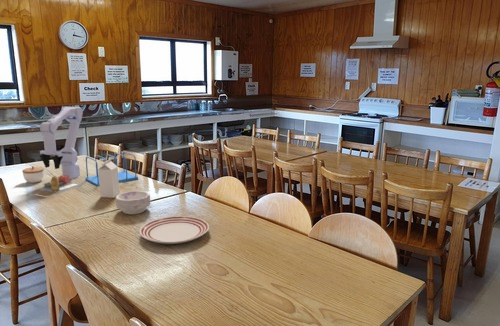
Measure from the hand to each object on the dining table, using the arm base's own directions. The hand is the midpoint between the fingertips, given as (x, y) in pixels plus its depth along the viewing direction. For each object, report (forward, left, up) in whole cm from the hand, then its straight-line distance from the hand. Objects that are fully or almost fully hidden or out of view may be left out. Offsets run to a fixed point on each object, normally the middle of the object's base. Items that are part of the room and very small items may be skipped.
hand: (52, 167), depth 212 cm
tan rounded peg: (+8, +10, -10) cm, 16 cm away
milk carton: (+1, +41, -11) cm, 42 cm away
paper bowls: (+14, +67, -11) cm, 69 cm away
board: (+2, +7, -10) cm, 13 cm away
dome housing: (+2, +2, -10) cm, 11 cm away
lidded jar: (0, -16, -11) cm, 19 cm away
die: (-5, +2, -10) cm, 11 cm away
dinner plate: (+28, +99, -11) cm, 103 cm away
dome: (+2, +2, -9) cm, 10 cm away
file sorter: (-23, +21, -11) cm, 33 cm away
